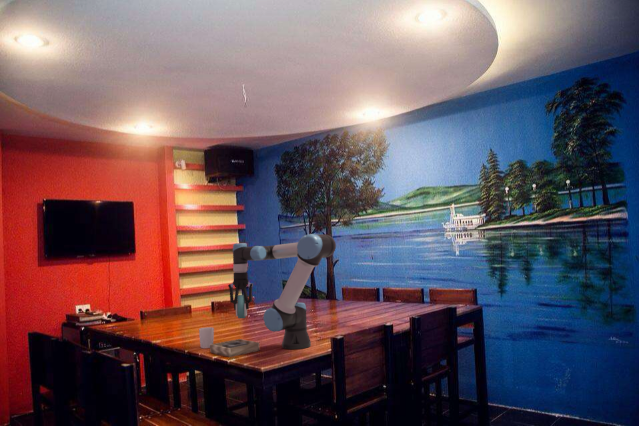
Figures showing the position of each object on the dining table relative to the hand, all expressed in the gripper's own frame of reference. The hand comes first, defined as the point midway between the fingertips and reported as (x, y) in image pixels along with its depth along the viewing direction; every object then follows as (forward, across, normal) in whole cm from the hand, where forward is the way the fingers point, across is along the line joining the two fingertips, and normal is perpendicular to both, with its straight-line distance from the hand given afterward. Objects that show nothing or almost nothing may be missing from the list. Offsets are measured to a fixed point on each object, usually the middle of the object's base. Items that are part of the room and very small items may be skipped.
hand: (241, 315), depth 251 cm
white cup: (+17, +21, -3) cm, 27 cm away
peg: (+1, 0, 0) cm, 1 cm away
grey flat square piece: (+17, +1, +10) cm, 19 cm away
